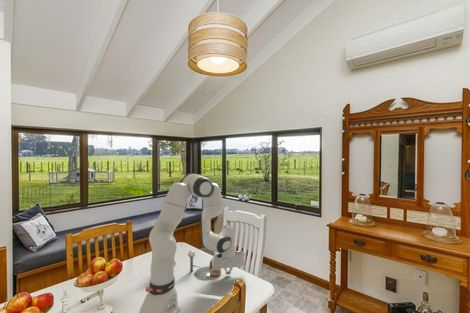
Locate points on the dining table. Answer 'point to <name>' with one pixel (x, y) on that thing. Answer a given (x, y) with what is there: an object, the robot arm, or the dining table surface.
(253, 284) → the dining table surface
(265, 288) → the dining table surface
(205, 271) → the turntable
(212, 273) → the cover
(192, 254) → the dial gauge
